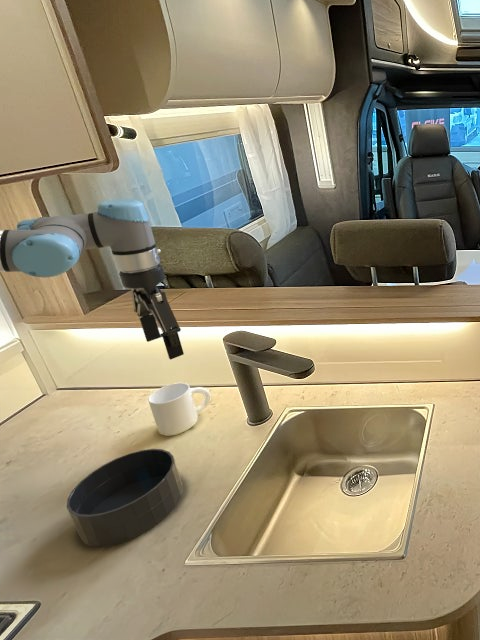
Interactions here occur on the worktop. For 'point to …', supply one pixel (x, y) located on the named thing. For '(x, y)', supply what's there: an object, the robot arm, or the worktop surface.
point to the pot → (125, 497)
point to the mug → (176, 407)
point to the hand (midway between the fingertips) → (164, 347)
